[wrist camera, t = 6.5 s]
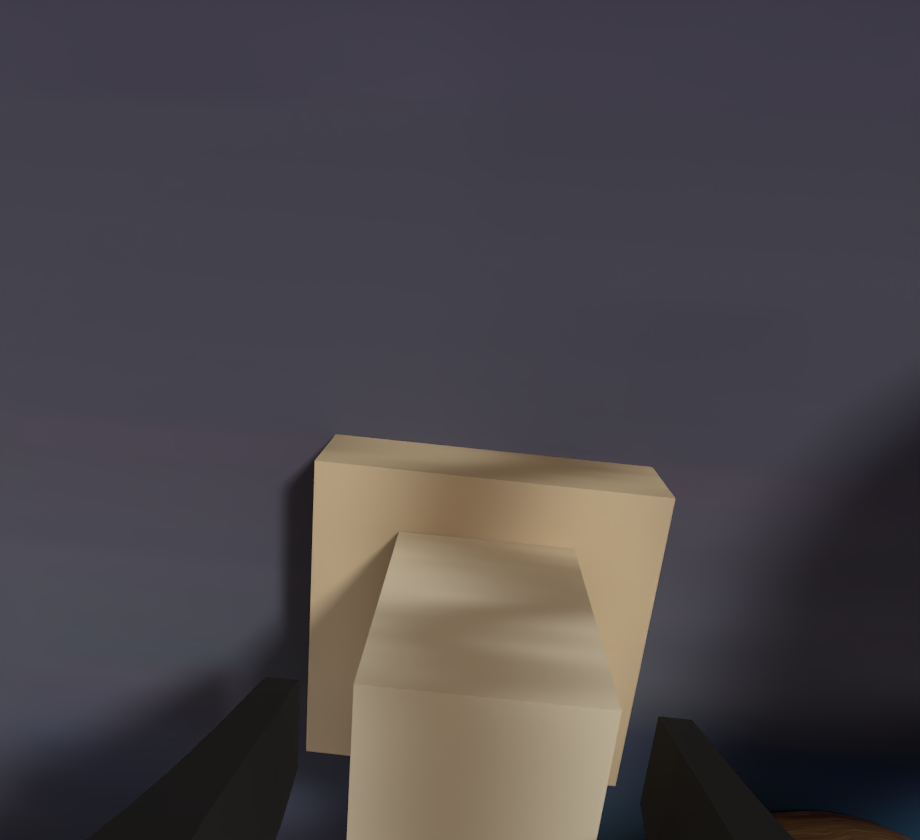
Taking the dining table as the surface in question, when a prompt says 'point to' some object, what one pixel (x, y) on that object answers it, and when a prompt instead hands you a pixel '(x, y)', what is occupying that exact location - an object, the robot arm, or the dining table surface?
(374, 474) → the oak slab
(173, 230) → the dining table surface
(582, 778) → the maple block
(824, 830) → the pastry
